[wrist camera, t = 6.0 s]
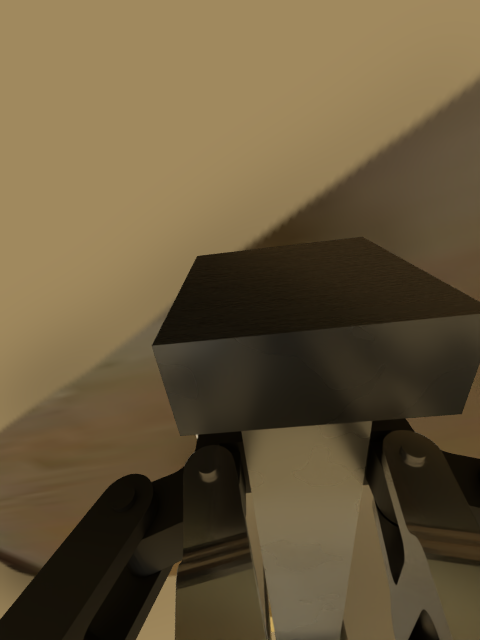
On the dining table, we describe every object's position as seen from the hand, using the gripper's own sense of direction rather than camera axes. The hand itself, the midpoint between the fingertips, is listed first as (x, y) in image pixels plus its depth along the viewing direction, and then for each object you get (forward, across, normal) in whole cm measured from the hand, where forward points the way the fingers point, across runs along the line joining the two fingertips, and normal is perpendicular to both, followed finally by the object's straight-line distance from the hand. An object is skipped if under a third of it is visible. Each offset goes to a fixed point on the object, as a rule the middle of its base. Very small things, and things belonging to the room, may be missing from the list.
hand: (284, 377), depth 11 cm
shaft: (0, 0, +7) cm, 7 cm away
